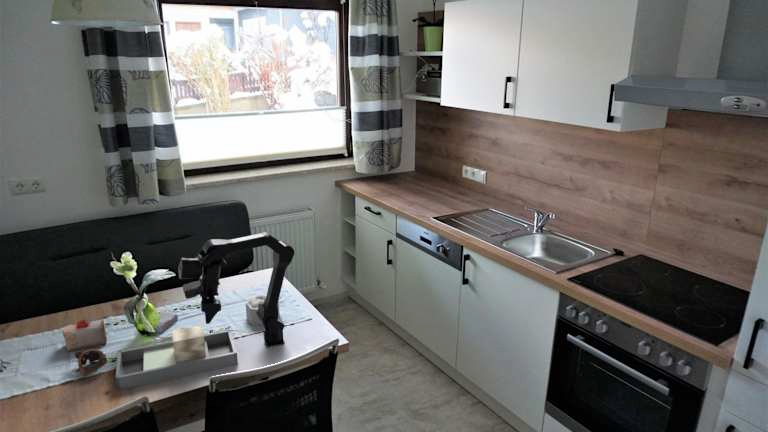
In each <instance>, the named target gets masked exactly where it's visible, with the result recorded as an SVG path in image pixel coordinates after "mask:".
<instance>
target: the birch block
mask: <svg viewBox="0 0 768 432" xmlns="http://www.w3.org/2000/svg"><path fill="white" fill-rule="evenodd" d="M204 335H205V333H204V329H203V325H202V324H201V325H196V326H195V325H194V326H191V327H185V328H180V329H174V330H171V337H172V341H173V348H174V355H175V363H176V362H181V361H185V360H190V359H195V358H200V357H205V356H206V351H205V342H204Z"/></svg>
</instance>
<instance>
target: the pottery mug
mask: <svg viewBox="0 0 768 432" xmlns="http://www.w3.org/2000/svg"><path fill="white" fill-rule="evenodd" d="M74 357H75V358H76V360H77V363H78V364H77V365H78V369H79V374H80V375H81V376H82V377H85V376H86V375H90V374H93V373H95V372H97V371H98V370H99V369H101V368H102V366H103V365H106V364H107V363H108V358H107V354H105V353H104V352H103V351H102V350H100V349H95V348H94V349H93V348H90V349H87V350H85V351H84V350H83V351H82V350H76V352H75V353H74ZM87 361H89V363H90V364H92V363H94V362H96V361H97V362H96V363H94V364H92V365H87V366H86V365H85V364H87ZM84 365H85V366H84Z"/></svg>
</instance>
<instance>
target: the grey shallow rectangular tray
mask: <svg viewBox="0 0 768 432" xmlns="http://www.w3.org/2000/svg"><path fill="white" fill-rule="evenodd" d="M204 342H205V351H206V356H205V357H200V358H195V359H190V360H185V361H181V362H176V363H175V355H174V348H173V340H170V341H165V342H160V343H155V344H149V345H145V346H139V347H133V348H129V349H124V350H119V351H117V359H116V370H115V383H116V384H115V385H116V391H121V390H125V389H130V388H134V387H139V386H140V387H141V386H143V385H149V384H152V383H158V382H163V381H168V380H171V378H172V379H175V378H179V377H185V376H189V375H194V374H197V373H198V374H199V373H204V372H208V371H212V370H217V369H223V368H225V367H226V368H227V367H230V366H236V365H239V360H238V352H237V348H236V346H235V341H234V338H233V334H232V331H231V329H229V330H228V329H227V330H222V331H217V332H213V333H208V334H207V333H206V334H204Z"/></svg>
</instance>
